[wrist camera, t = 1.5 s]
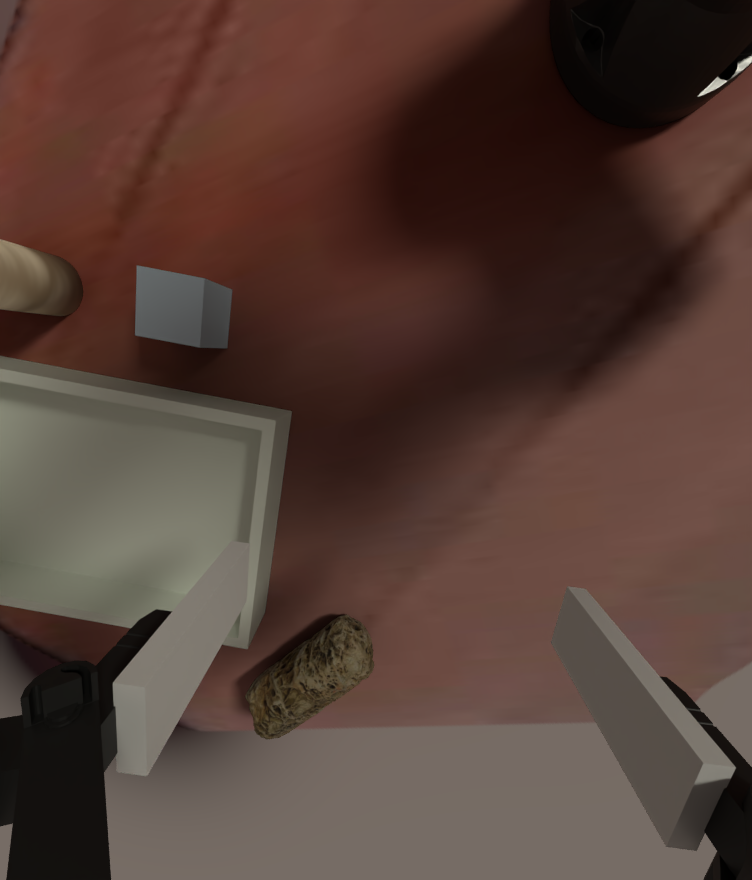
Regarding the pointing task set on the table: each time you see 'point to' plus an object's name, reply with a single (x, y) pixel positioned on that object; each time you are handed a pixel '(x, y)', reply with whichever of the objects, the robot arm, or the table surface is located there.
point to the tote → (131, 493)
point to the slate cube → (182, 309)
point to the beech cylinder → (37, 282)
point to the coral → (310, 677)
